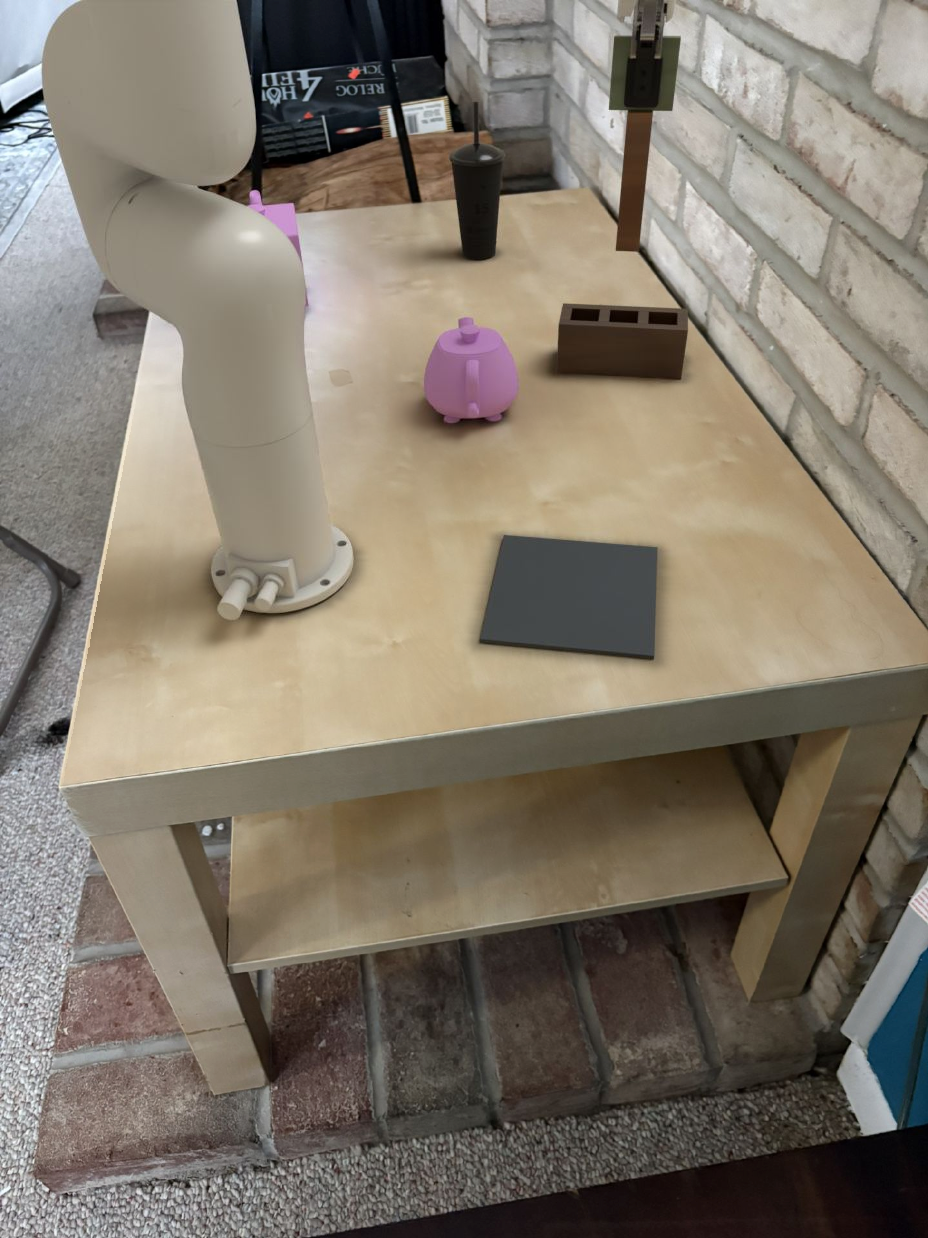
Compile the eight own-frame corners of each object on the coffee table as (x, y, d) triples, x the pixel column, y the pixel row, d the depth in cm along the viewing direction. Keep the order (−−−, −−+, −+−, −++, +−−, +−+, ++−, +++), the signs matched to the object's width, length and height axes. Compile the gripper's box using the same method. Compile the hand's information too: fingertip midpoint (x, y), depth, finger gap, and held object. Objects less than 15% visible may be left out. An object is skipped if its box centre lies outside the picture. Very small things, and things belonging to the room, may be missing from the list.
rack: (681, 379, 106) (688, 329, 102) (556, 372, 108) (558, 323, 104) (681, 356, 110) (687, 308, 106) (560, 350, 112) (563, 302, 108)
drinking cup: (444, 249, 137) (437, 99, 123) (490, 240, 139) (489, 91, 125) (466, 267, 132) (461, 112, 118) (513, 257, 134) (514, 104, 120)
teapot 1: (311, 325, 119) (296, 226, 111) (232, 333, 118) (211, 234, 110) (303, 266, 134) (289, 174, 125) (233, 273, 133) (214, 181, 124)
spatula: (656, 252, 95) (681, 39, 82) (598, 250, 96) (613, 38, 83) (656, 243, 97) (680, 33, 84) (599, 241, 98) (614, 33, 85)
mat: (653, 659, 73) (654, 655, 73) (480, 642, 75) (480, 638, 75) (656, 550, 83) (657, 546, 83) (503, 537, 85) (503, 534, 85)
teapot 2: (426, 440, 98) (420, 359, 92) (424, 373, 109) (419, 296, 103) (523, 436, 98) (524, 355, 92) (512, 368, 109) (512, 292, 103)
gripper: (621, -152, 81) (605, 84, 93) (613, -140, 70) (596, 126, 82) (708, -154, 80) (680, 85, 92) (714, -142, 69) (681, 127, 81)
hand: (640, 103), depth 87 cm, fingers closed on spatula, 1 cm apart
